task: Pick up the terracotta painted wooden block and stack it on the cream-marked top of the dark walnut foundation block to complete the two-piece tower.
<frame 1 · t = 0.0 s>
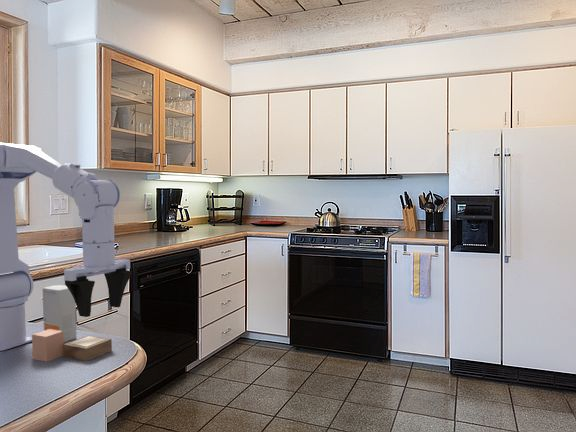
hand: (100, 311, 90), 10 cm above the counter, tool pointing down, fingers open, 7 cm apart
walnut foundation: (88, 353, 95), on the counter
skincare box: (60, 340, 105), on the counter
terracotta block: (48, 357, 93), on the counter
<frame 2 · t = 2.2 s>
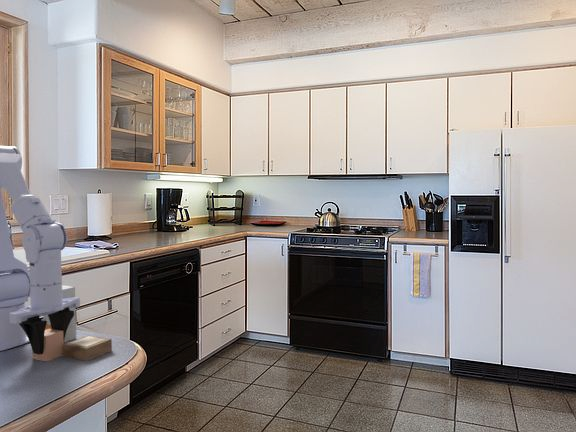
hand: (48, 349, 93), 1 cm above the counter, tool pointing down, fingers closed on terracotta block, 4 cm apart
terracotta block: (48, 356, 93), on the counter, touching gripper
everything else where it was.
when the fingers open (5 cm above the counter, at t = 5.5 s): terracotta block stays where it is, resting on walnut foundation.
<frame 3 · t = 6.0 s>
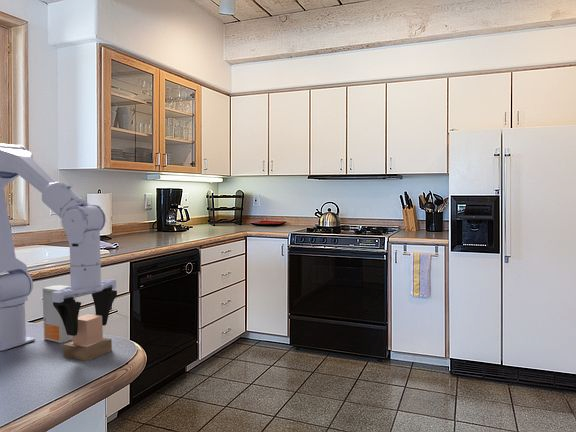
hand: (87, 329, 95), 5 cm above the counter, tool pointing down, fingers open, 7 cm apart
terracotta block: (88, 341, 95), point 3 cm above the counter, touching walnut foundation
everything else where it was.
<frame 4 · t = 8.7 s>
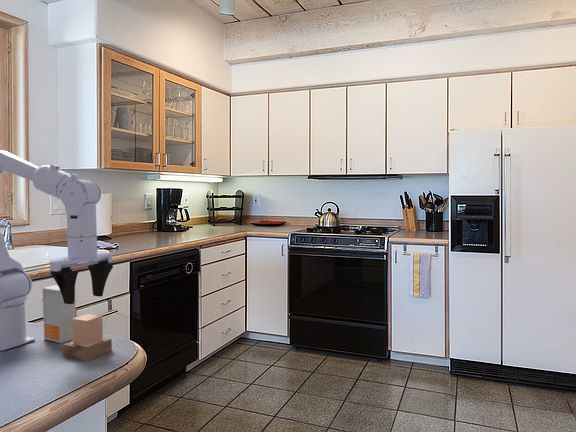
hand: (84, 299, 98), 10 cm above the counter, tool pointing down, fingers open, 7 cm apart
nothing on the counter moved.
at the end: terracotta block 0.1 cm off-centre on the walnut foundation, point 2.6 cm above the walnut foundation's base; terracotta block tilted 0°; the gripper is holding nothing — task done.
